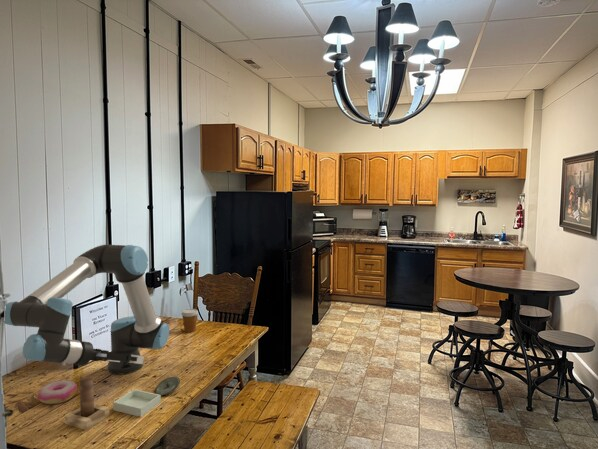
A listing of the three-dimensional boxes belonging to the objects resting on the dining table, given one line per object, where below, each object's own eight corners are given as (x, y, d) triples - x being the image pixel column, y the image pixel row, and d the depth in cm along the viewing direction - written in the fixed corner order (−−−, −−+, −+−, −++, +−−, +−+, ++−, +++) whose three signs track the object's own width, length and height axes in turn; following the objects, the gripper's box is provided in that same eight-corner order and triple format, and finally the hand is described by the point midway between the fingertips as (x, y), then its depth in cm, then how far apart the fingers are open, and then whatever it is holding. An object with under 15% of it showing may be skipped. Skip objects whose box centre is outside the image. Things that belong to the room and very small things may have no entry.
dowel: (77, 421, 148) (76, 381, 147) (88, 415, 152) (86, 376, 151) (87, 424, 146) (86, 383, 145) (97, 418, 150) (96, 378, 149)
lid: (185, 390, 172) (185, 379, 171) (163, 399, 164) (163, 387, 164) (171, 382, 179) (171, 371, 178) (150, 390, 171) (149, 379, 171)
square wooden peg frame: (65, 424, 146) (64, 416, 146) (88, 410, 156) (88, 402, 155) (86, 430, 143) (86, 421, 142) (109, 415, 152) (109, 407, 152)
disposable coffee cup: (181, 329, 248) (181, 309, 247) (197, 327, 251) (197, 308, 250) (182, 334, 239) (181, 313, 238) (198, 332, 242) (198, 312, 241)
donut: (33, 408, 157) (32, 396, 156) (44, 392, 169) (43, 380, 169) (72, 403, 160) (72, 391, 160) (80, 388, 173) (80, 376, 173)
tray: (113, 410, 156) (113, 402, 156) (134, 396, 166) (134, 389, 166) (141, 416, 151) (140, 408, 151) (160, 402, 162) (160, 395, 161)
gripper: (53, 362, 142) (108, 368, 158) (94, 366, 129) (150, 372, 145) (60, 340, 145) (113, 347, 161) (100, 341, 131) (155, 349, 147)
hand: (131, 359), depth 153 cm, fingers open, 13 cm apart
